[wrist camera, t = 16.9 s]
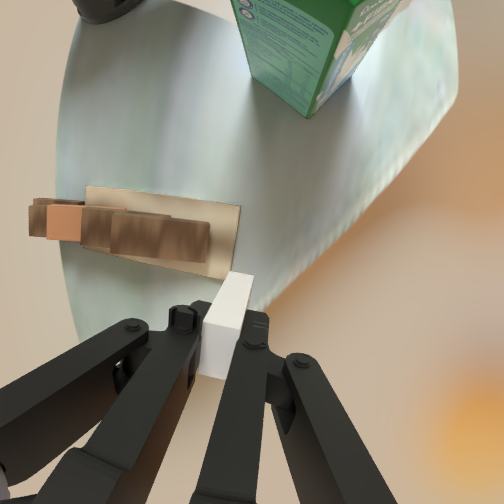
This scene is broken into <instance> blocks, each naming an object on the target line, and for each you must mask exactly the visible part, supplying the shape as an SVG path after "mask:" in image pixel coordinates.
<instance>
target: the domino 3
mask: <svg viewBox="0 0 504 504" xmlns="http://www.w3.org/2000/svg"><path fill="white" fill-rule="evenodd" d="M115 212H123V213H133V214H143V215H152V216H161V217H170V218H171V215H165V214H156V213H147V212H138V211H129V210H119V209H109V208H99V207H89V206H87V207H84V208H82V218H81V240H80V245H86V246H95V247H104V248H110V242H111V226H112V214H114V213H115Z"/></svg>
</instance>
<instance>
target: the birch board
mask: <svg viewBox="0 0 504 504" xmlns="http://www.w3.org/2000/svg"><path fill="white" fill-rule="evenodd" d="M85 206H102V207H119V208H126V210H129V211H138V212H147V213H156V214H165V215H171V218H179V219H187V220H196V221H204V222H209V223H210V232H209V239H208V246H207V253H206V261H205V263H196V262H186V261H176V260H166V259H157V258H147V257H138V256H129V255H120V254H111V253H110V248H104V247H95V246H86V245H83V248H85V249H89V250H93V251H97V252H101V253H105V254H109V255H113V256H117V257H121V258H126V259H130V260H134V261H138V262H143V263H147V264H152V265H156V266H160V267H165V268H169V269H174V270H179V271H183V272H188V273H193V274H197V275H202V276H207V277H212V278H217V279H222V280H225V279H226V277H227V275H228V273H229V271H231V264H232V258H233V252H234V245H235V239H236V233H237V227H238V221H239V215H240V209H241V206H236V205H230V204H224V203H218V202H211V201H205V200H198V199H192V198H185V197H178V196H171V195H164V194H157V193H149V192H142V191H134V190H126V189H117V188H108V187H99V186H86V196H85Z"/></svg>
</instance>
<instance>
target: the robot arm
mask: <svg viewBox="0 0 504 504" xmlns="http://www.w3.org/2000/svg"><path fill="white" fill-rule="evenodd" d="M72 1H73V3H74V4H75V6H76V7H77V10H78V13H79V15H80V16H81V17H82V18H83V19H84V20H86V21H87V22H89V23H92V24H101V23H105V22H108V21H111V20H113V19H116V18H118V17H120V16H121V15H123V14H125V13H127V12H128V11H130V10H131V9H133V8H134V7H135V6H137V5H138V4H139V3H140V2H141V1H143V0H72ZM253 279H254V276H253V275H248V274H243V273H237V272H232V271H229V273H228V275H227V277H226V279H225V281H224V283H223V284H222V286H221V288H220V290H219V292H218V294H217V296H216V297H215V299H214V301H213V303H209V302H204V301H200V300H198V301H195V302H193V303H192V304H191V305H190V306H188V305H176V306H172V307H171V308H170V309H169V324H168V327H167V329H166V330H165V331H149V326H148V324H147V323H146V322H144V321H143V320H140V319H136V318H135V319H134V318H130V319H125V320H122V321H120V322H118V323H116V324H115V325H113V326H111V327H109V328H107V329H106V330H104V331H102V332H100V333H98V334H97V335H95V336H93V337H91V338H89V339H88V340H86V341H84V342H82V343H81V344H79V345H77V346H75V347H73V348H72V349H70V350H68V351H66V352H65V353H63V354H61V355H59V356H57V357H56V358H54V359H52V360H50V361H49V362H47V363H45V364H43V365H41V366H40V367H38V368H36V369H34V370H33V371H31V372H29V373H27V374H26V375H24V376H22V377H20V378H19V379H17V380H15V381H13V382H11V383H10V384H8V385H6V386H5V387H3V388H1V389H0V504H145V503H146V501H147V498H148V495H149V493H150V491H151V488H152V486H153V483H154V480H155V478H156V475H157V473H158V471H159V468H160V466H161V463H162V461H163V458H164V455H165V453H166V451H167V448H168V446H169V443H170V441H171V438H172V436H173V434H174V431H175V428H176V426H177V424H178V421H179V419H180V416H181V414H182V411H183V409H184V406H185V404H186V402H187V399H188V397H189V394H190V392H191V389H192V387H193V384H194V382H195V373H196V370H197V368H198V374H201V375H205V376H210V377H214V378H219V379H224V380H226V382H225V385H224V389H223V393H222V397H221V400H220V403H219V407H218V411H217V414H216V418H215V422H214V425H213V429H212V433H211V436H210V440H209V443H208V447H207V450H206V454H205V458H204V461H203V465H202V468H201V472H200V475H199V479H198V482H197V486H196V489H195V491H194V493H193V494H192V497H191V500H190V503H189V504H257V503H256V489H257V479H258V470H259V461H260V450H261V440H262V429H263V417H264V406H265V402H267V403H269V404H271V409H272V412H273V416H274V419H275V423H276V426H277V430H278V433H279V436H280V440H281V443H282V446H283V450H284V453H285V456H286V460H287V463H288V466H289V469H290V473H291V475H292V479H293V482H294V485H295V488H296V492H297V495H298V498H299V501H300V504H397V502H396V500H395V498H394V497H393V495H392V493H391V491H390V489H389V488H388V486H387V484H386V482H385V480H384V479H383V477H382V475H381V473H380V471H379V470H378V468H377V466H376V464H375V463H374V461H373V459H372V457H371V455H370V454H369V452H368V450H367V448H366V447H365V445H364V443H363V441H362V440H361V438H360V436H359V434H358V432H357V431H356V429H355V427H354V425H353V424H352V422H351V420H350V418H349V417H348V415H347V413H346V411H345V410H344V408H343V406H342V404H341V402H340V401H339V399H338V397H337V395H336V394H335V392H334V390H333V388H332V387H331V385H330V383H329V381H328V379H327V378H326V376H325V374H324V373H323V371H322V369H321V367H320V365H319V364H318V362H317V361H316V360H315V359H314V358H313V357H311V356H309V355H307V354H304V353H292V354H290V355H288V356H287V357H286V359H285V358H282V357H280V356H277V355H275V354H274V353H272V352H271V351H270V350H269V346H268V329H269V317H268V316H267V314H266V313H263V312H258V311H252V310H248V306H249V301H250V296H251V290H252V285H253ZM119 361H120V364H119V365H117V366H116V364H117V363H118V362H119ZM101 420H102V421H101ZM100 421H101V422H100ZM99 422H100V424H99V425H98V427H97V428H96V430H95V431H94V433H93V434H92V436H91V437H90V439H89V440H88V442H87V443H86V444H85V446H84V447H82V448H76V447H73V448H71V449H69V450H68V451H67V452H66V453H65V454H64V456H63V457H62V459H61V460H60V461H59V463H58V464H57V466H56V467H55V469H54V470H53V472H52V473H51V475H50V476H49V477H48V479H47V481H46V482H45V483H44V485H43V486H42V488H41V489H40V491H39V492H38V494H34V495H29V496H24V497H19V498H12V499H10V492H9V490H8V487H9V486H13V485H16V484H18V483H20V482H23V481H25V480H27V479H28V478H30V477H31V476H33V475H34V474H36V473H37V472H38V471H39V470H41V469H42V468H43V467H45V466H46V465H47V464H48V463H50V462H51V461H52V460H53V459H55V458H56V457H57V456H58V455H60V454H61V453H62V452H63V451H65V450H66V449H67V448H68V447H69V446H71V445H72V444H73V443H74V442H76V441H77V440H78V439H79V438H81V437H82V436H83V435H84V434H85V433H87V432H88V431H89V430H90V429H91V428H93V427H94V426H95V425H96V424H97V423H99Z"/></svg>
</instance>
